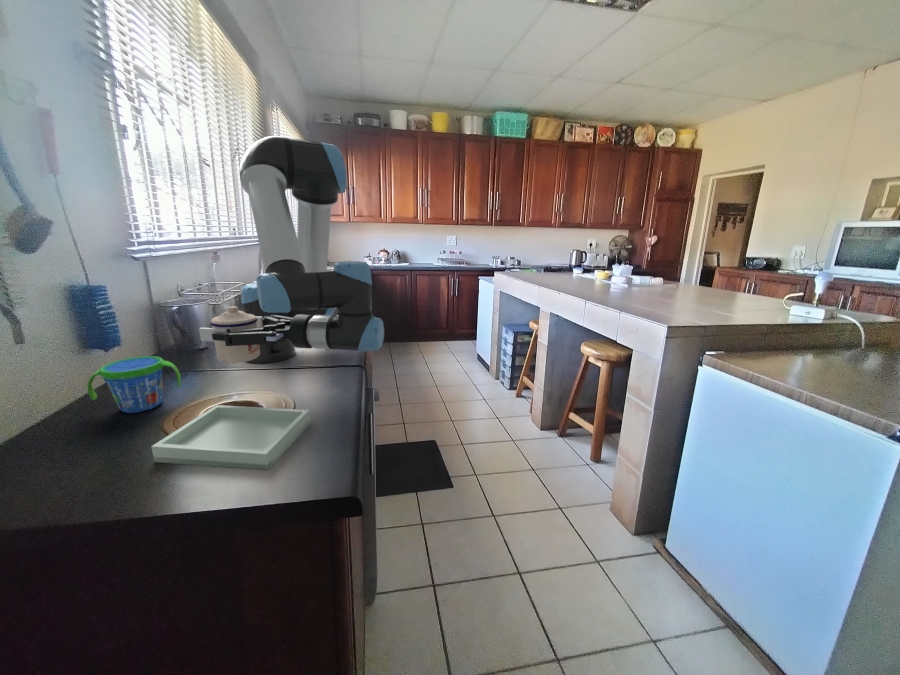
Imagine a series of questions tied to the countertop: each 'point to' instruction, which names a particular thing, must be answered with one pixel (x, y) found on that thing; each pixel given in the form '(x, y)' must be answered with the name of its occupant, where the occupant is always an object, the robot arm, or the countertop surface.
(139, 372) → the snack cup
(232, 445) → the sage tray
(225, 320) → the teacup with lid
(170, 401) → the countertop surface
